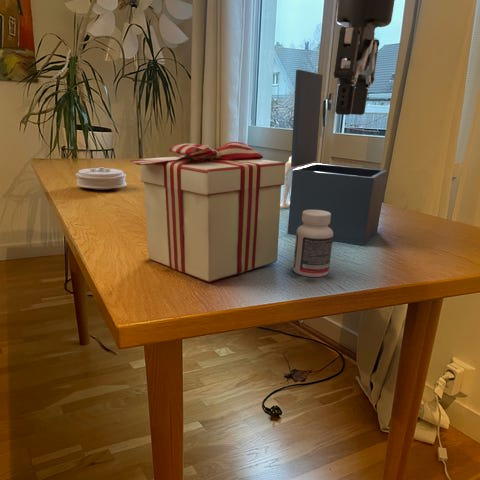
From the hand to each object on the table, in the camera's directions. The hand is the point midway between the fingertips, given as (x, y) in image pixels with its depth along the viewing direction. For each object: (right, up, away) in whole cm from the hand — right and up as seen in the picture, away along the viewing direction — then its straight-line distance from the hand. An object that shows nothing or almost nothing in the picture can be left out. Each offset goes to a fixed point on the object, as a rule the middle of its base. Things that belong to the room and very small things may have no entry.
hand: (350, 114), depth 71 cm
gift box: (-22, -22, +3) cm, 31 cm away
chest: (+2, -13, +22) cm, 26 cm away
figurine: (-5, -4, +43) cm, 44 cm away
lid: (-53, +4, +55) cm, 76 cm away
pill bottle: (-6, -24, 0) cm, 24 cm away
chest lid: (-4, +6, +17) cm, 18 cm away
